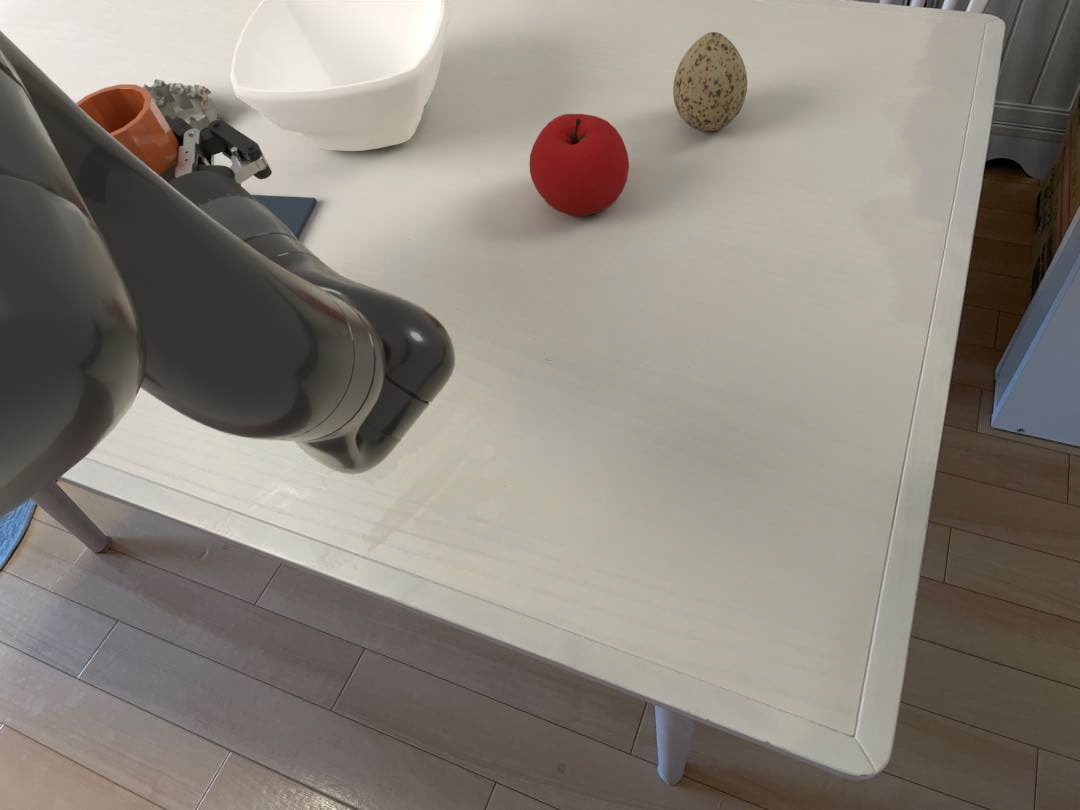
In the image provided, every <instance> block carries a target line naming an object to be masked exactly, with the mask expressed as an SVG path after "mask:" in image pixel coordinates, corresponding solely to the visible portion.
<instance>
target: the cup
mask: <svg viewBox="0 0 1080 810" xmlns="http://www.w3.org/2000/svg"><path fill="white" fill-rule="evenodd" d="M75 103H76V104H77V105H78V106H79V107H80V108H81V109H82V110H83V111H84V112H85V113H86V114H88V115H89V116H90V117H91V118H92V119H93V120H94V121H96V122H97V123H98V124H99V125H100V126H101V127H102V128H104V129H105V130H106V131H107V132H108V133H109V134H110V135H112V136H113V137H114V138H115V139H116V140H117V141H119V142H120V143H121V144H122V145H123V146H124V147H126V148H127V149H128V150H129V151H130V152H132V153H133V154H134V155H135V156H136V157H138V158H139V159H140V160H141V161H142V162H144V163H145V164H146V165H147V166H148V167H150V168H151V169H152V170H153V171H154V172H156V173H157V174H158V175H159V176H160V175H161V174H163V173H164V172H165V171H166V170H168V169H169V168H171V167H173V166H174V165H176V166H177V167H178V155H179V147H180V146H181V145H180V143H179V141H178V140H177V138H176V136H175V135H174V133H173V131H172V130H171V128H170V127H169V125H168V123H167V122H166V120H165V118H164V117H163V115H162V113H161V112H160V110H159V108H158V107H157V105H156V104H155V102H154V100H153V99H152V97H151V95H150V94H149V92H148V90H147V89H145V88H143V86H140V85H138V84H134V83H133V84H132V83H131V84H128V83H127V84H125V83H122V84H115V85H112V86H107V87H102V88H100V89H98V90H95V91H93V92H92V93H90V94H86V95H85V96H84V97H82V98H81V99H79V100H78V101H76V102H75Z"/></svg>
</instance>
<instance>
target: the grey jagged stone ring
mask: <svg viewBox="0 0 1080 810" xmlns="http://www.w3.org/2000/svg"><path fill="white" fill-rule="evenodd" d="M193 85H194V86H192V85H191V84H188V85H185V84H183V83H182V82H179V83H178V82H173V83H172V82H168V83H166V82H165V81H164V80H163V79H154V83H153V85H151V86H148V85H147V84H146V83H145V84H144V85H142V87H143V88H145V89H147V90H148V92H149V94H150V95H151V97H152V99H153V100H154V102H155V104H156V105H157V107H158V108H159V110H160V112H161V113H162V115H163V117H165V116H166V115H168V116H169V117H170V118H172V119H175V118H176V117H178V118H182V119H183V120H185V122H187V123H188V124H189V125H190V126H192V127H193V128H197V129H199V131H204V130H205V129H207V128H208V125H209V124H210V123H211V122H212V121H215V120H218V117H219V114H218V111H217V109H216V106H215V104H214V102H213V101H212V99H211V98H209V97H210V95H211V94H212V91H211V90H210V89H209V88H208V87H206V86H204V85H200V84H193ZM208 129H209V128H208Z"/></svg>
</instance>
